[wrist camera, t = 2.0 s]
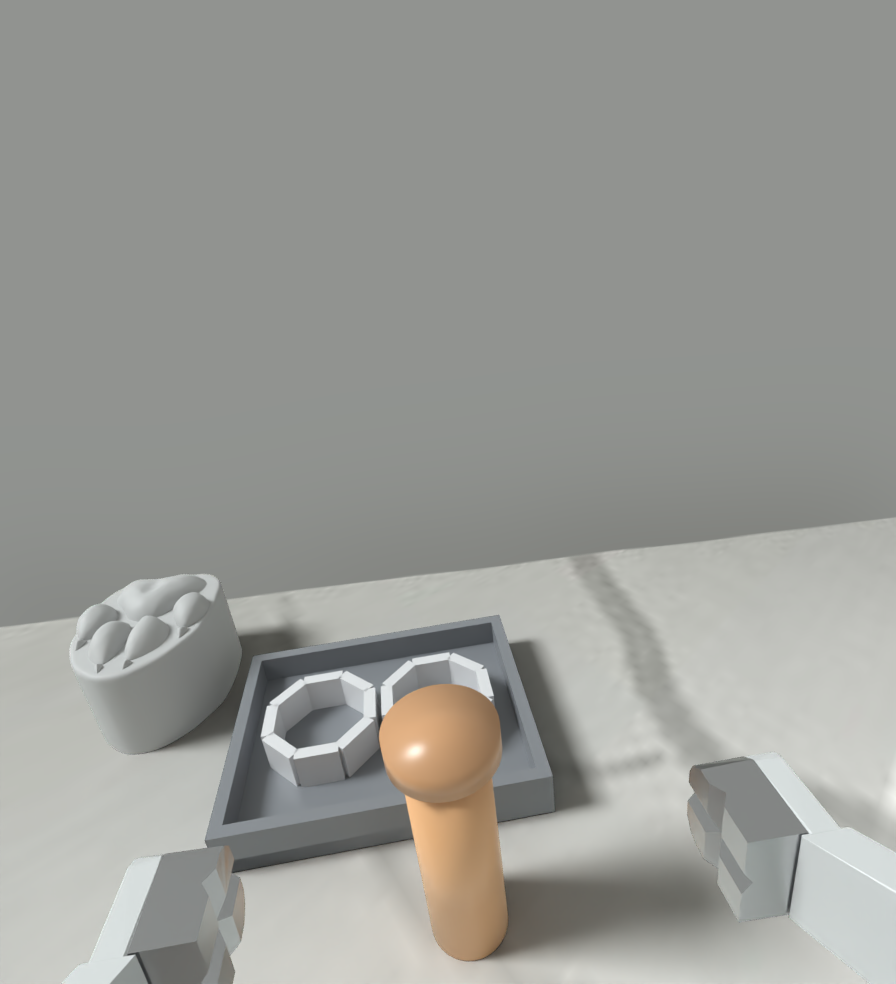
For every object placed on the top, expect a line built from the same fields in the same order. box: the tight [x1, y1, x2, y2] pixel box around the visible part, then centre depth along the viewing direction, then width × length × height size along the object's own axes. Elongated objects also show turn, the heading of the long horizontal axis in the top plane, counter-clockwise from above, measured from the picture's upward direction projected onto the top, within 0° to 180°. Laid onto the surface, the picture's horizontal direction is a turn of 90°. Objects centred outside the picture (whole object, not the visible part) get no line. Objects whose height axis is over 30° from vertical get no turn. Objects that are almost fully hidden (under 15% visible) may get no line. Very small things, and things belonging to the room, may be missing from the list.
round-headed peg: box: [379, 684, 508, 961], centre depth 29 cm, size 5×5×13 cm
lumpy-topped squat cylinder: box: [69, 574, 242, 755], centre depth 49 cm, size 10×13×9 cm
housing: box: [205, 615, 555, 872], centre depth 43 cm, size 16×20×4 cm
